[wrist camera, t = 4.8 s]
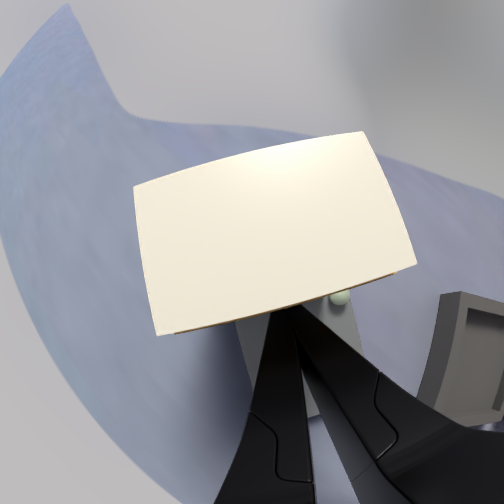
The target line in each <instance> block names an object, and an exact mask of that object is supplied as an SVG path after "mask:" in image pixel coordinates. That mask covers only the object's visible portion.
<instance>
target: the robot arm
mask: <svg viewBox="0 0 504 504" xmlns="http://www.w3.org/2000/svg"><path fill="white" fill-rule="evenodd" d="M301 370H302V371H301ZM302 373H303V376H304V378H305V381H306V383H307V385H308V387H309V390H310V392H311V394H312V397H313V399H314V401H315V403H316V406H317V408H318V410H319V412H320V415H321V417H322V419H323V421H324V424H325V426H326V428H327V430H328V433H329V435H330V437H331V439H332V442H333V444H334V446H335V448H336V451H337V453H338V455H339V457H340V460H341V462H342V464H343V466H344V469H345V471H346V473H347V475H348V478H349V480H350V482H352V483H351V484H352V487H353V489H354V491H355V493H356V496H357V498H358V500H359V502H360V504H504V432H494V431H485V430H478V429H473V428H469V427H466V426H463V425H461V424H459V423H457V422H455V421H453V420H451V419H450V418H448V417H446V416H445V415H443V414H441V413H440V412H438V411H436V410H435V409H433V408H431V407H430V406H428V405H426V404H425V403H423V402H422V401H420V400H418V399H417V398H415V397H414V396H412V395H411V394H409V393H408V392H406V391H405V390H404V389H402V388H401V387H400V386H398V385H397V384H396V383H395V382H393V381H392V380H391V379H390V378H388V377H387V376H386V375H385V374H384V373H382V372H379V369H377V368H376V367H375V366H374V365H373V364H371V363H370V362H369V361H368V360H367V359H366V358H364V357H363V356H362V355H361V354H360V353H358V352H357V351H356V350H355V349H354V348H352V347H351V346H350V345H349V344H348V343H347V342H345V341H344V340H343V339H342V338H341V337H339V336H338V335H337V334H336V333H335V332H334V331H332V330H331V329H330V328H329V327H328V326H326V325H325V324H324V323H323V322H322V321H321V320H319V319H318V318H317V317H316V316H315V315H313V314H312V313H311V312H310V311H309V310H308V309H306V308H305V307H304V306H303V305H302V304H299V305H295V306H292V307H288V308H285V309H281V310H277V311H273V312H270V315H269V320H268V324H267V329H266V334H265V339H264V344H263V348H262V353H261V357H260V362H259V367H258V371H257V376H256V380H255V384H254V389H253V393H252V398H251V402H250V406H249V411H250V412H248V414H247V418H246V422H245V426H244V430H243V433H242V437H241V440H240V443H239V446H238V449H237V451H236V454H235V457H234V459H233V462H232V464H231V466H230V469H229V471H228V473H227V476H226V478H225V480H224V482H223V485H222V487H221V489H220V491H219V493H218V496H217V498H216V500H215V502H214V504H317V497H316V486H315V476H314V466H313V457H312V448H311V439H310V431H309V423H308V415H307V407H306V399H305V392H304V384H303V377H302Z"/></svg>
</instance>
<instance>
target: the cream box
mask: <svg viewBox="0 0 504 504" xmlns="http://www.w3.org/2000/svg"><path fill="white" fill-rule="evenodd" d="M133 189H134V201H135V211H136V220H137V229H138V237H139V244H140V251H141V258H142V264H143V270H144V276H145V282H146V287H147V293H148V298H149V303H150V308H151V312H152V317H153V321H154V326H155V330H156V334H157V336H160V335H165V334H170V333H174V334H180V333H185V332H190V331H194V330H199V329H204V328H208V327H213V326H217V325H221V324H226V323H230V322H234V321H238V320H242V319H246V318H250V317H254V316H258V315H262V314H266V313H270V312H273V311H277V310H281V309H285V308H288V307H292V306H295V305H299V304H302V303H306V302H309V301H313V300H316V299H319V298H323V297H326V296H329V295H333V294H336V293H339V292H342V291H345V290H348V289H352V288H355V287H358V286H361V285H364V284H367V283H370V282H373V281H376V280H379V279H382V278H384V277H387V276H390V275H393V274H396V271H399V270H402V269H404V268H407V267H410V266H413V265H415V264H417V261H416V258H415V254H414V251H413V248H412V245H411V242H410V239H409V236H408V233H407V230H406V227H405V225H404V222H403V219H402V217H401V214H400V211H399V209H398V206H397V204H396V201H395V199H394V196H393V194H392V191H391V189H390V187H389V184H388V182H387V180H386V177H385V175H384V173H383V171H382V169H381V166H380V164H379V162H378V160H377V158H376V156H375V154H374V152H373V150H372V148H371V146H370V144H369V142H368V140H367V138H366V136H365V134H364V133H363V131H362V132H353V133H346V134H338V135H332V136H326V137H319V138H314V139H308V140H302V141H297V142H292V143H287V144H282V145H277V146H273V147H268V148H264V149H259V150H255V151H251V152H246V153H242V154H238V155H234V156H231V157H227V158H223V159H219V160H216V161H212V162H208V163H205V164H201V165H198V166H195V167H191V168H188V169H185V170H181V171H178V172H175V173H172V174H169V175H166V176H163V177H160V178H157V179H154V180H151V181H148V182H145V183H142V184H140V185H137V186H134V187H133Z"/></svg>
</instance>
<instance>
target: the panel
mask: <svg viewBox="0 0 504 504" xmlns="http://www.w3.org/2000/svg"><path fill="white" fill-rule="evenodd" d="M302 305H303V306H304V307H305V308H306V309H308V310H309V311H310V312H311V313H312V314H313V315H315V316H316V317H317V318H318V319H319V320H321V321H322V322H323V323H324V324H325V325H326V326H328V327H329V328H330V329H331V330H332V331H334V332H335V333H336V334H337V335H338V336H339V337H341V338H342V339H343V340H344V341H345V342H347V343H348V344H349V345H350V346H351V347H352V348H354V349H355V350H356V351H357V352H358V353H360V354H361V355H362V356H363V357H364V355H363V350H362V346H361V341H360V337H359V333H358V329H357V325H356V321H355V317H354V313H353V309H352V305H351V301H350V291H349V289H348V290H345V291H342V292H339V293H336V294H333V295H329V296H326V297H323V298H319V299H316V300H313V301H309V302H306V303H302ZM269 315H270V313H266V314H262V315H258V316H254V317H250V318H246V319H242V320H238V321H234V323H235V327H236V330H237V334H238V338H239V342H240V346H241V349H242V353H243V357H244V360H245V364H246V368H247V371H248V375H249V379H250V382H251V386H252V389H254V384H255V380H256V376H257V371H258V367H259V362H260V357H261V353H262V348H263V344H264V339H265V334H266V329H267V324H268V320H269ZM301 371H302V370H301ZM302 377H303V384H304V392H305V399H306V407H307V415H308V418H309V417H312V416H316V415H319V414H320V412H319V410H318V408H317V406H316V403H315V401H314V399H313V397H312V394H311V392H310V390H309V387H308V385H307V383H306V381H305V378H304V376H303V373H302Z"/></svg>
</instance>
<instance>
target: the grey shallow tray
mask: <svg viewBox="0 0 504 504" xmlns="http://www.w3.org/2000/svg"><path fill="white" fill-rule="evenodd" d="M417 399H418V400H420V401H422V402H423V403H425V404H426V405H428V406H430V407H431V408H433V409H435V410H436V411H438V412H440V413H441V414H443V415H445V416H446V417H448V418H450V419H451V420H453V421H455V422H457V423H459V424H461V425H463V426H466V427H470V426H477V425H483V424H488V423H494V422H498V421H501V420H502V418H503V415H504V303H501V302H498V301H494V300H491V299H487V298H484V297H480V296H476V295H473V294H469V293H465V292H462V291H460V292H453V293H447V294H441V297H440V304H439V310H438V316H437V321H436V326H435V331H434V336H433V341H432V345H431V349H430V353H429V357H428V361H427V365H426V369H425V372H424V376H423V379H422V382H421V386H420V389H419V392H418V395H417Z"/></svg>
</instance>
